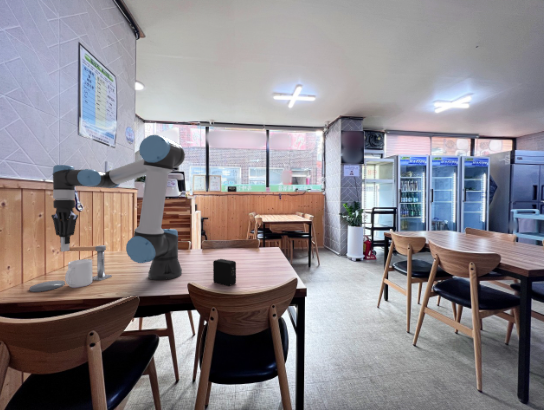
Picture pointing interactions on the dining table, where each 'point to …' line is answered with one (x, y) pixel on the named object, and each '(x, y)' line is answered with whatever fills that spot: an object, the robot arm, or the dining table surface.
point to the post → (100, 267)
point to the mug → (79, 273)
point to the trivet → (47, 286)
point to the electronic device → (224, 272)
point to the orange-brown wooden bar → (87, 248)
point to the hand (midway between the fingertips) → (65, 250)
